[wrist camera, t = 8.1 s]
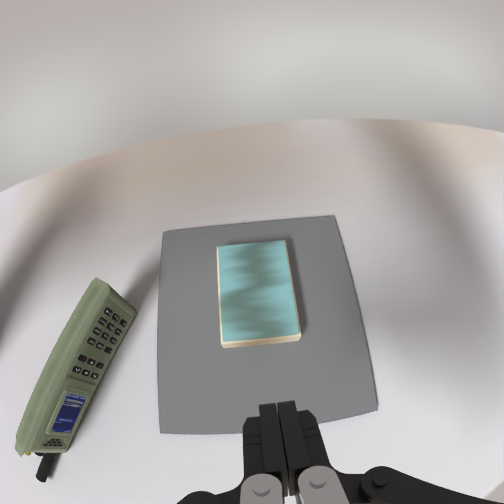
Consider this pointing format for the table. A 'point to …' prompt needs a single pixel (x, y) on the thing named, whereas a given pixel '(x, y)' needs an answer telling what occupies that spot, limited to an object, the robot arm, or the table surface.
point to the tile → (256, 295)
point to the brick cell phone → (73, 373)
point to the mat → (260, 356)
